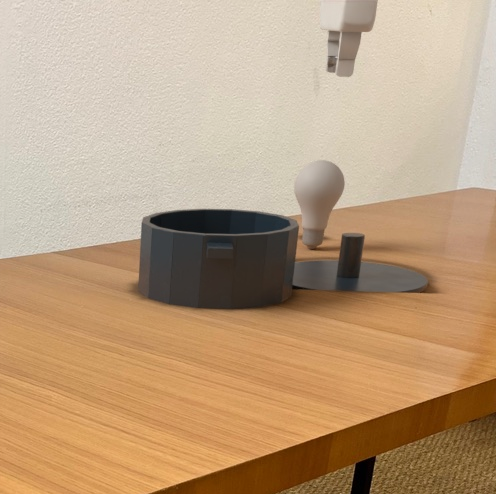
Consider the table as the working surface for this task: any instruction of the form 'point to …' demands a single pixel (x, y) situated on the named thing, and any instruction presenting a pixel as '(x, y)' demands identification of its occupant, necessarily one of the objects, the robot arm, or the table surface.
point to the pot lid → (355, 272)
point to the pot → (217, 258)
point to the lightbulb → (317, 198)
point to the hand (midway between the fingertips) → (338, 74)
